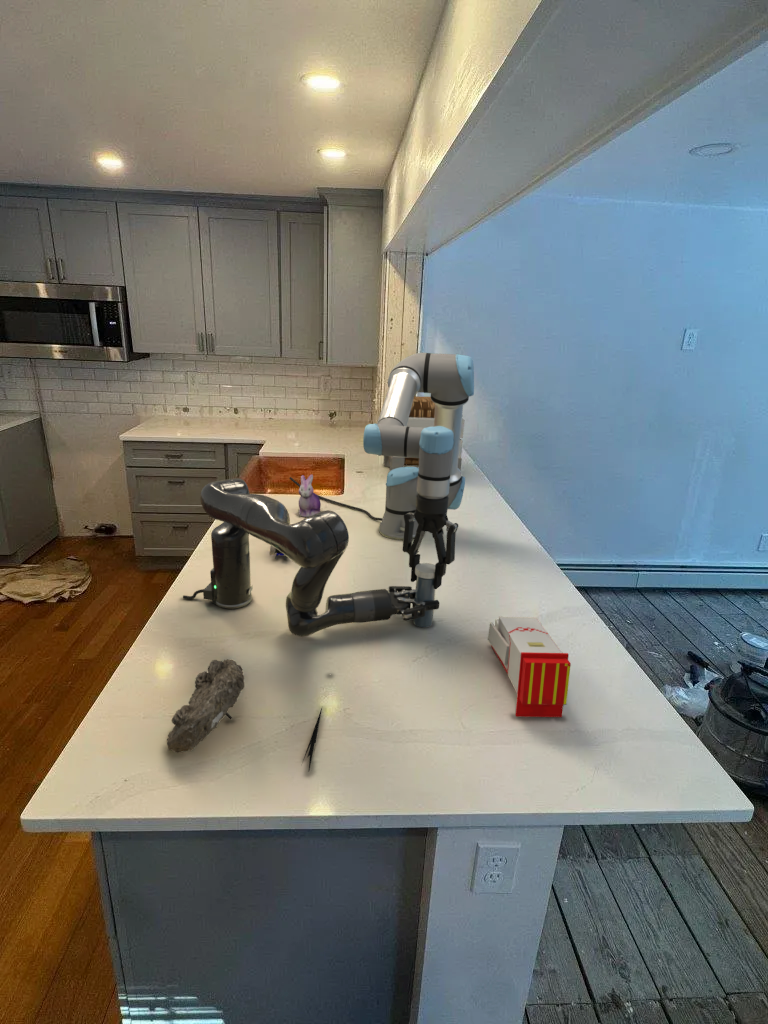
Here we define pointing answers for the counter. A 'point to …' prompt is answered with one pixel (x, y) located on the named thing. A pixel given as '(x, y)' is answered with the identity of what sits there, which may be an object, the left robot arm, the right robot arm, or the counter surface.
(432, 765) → the counter surface
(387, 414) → the right robot arm
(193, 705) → the fossil
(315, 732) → the feather
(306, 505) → the figurine
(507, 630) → the toy
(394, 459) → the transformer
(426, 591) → the jar
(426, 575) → the lid
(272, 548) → the figurine character
